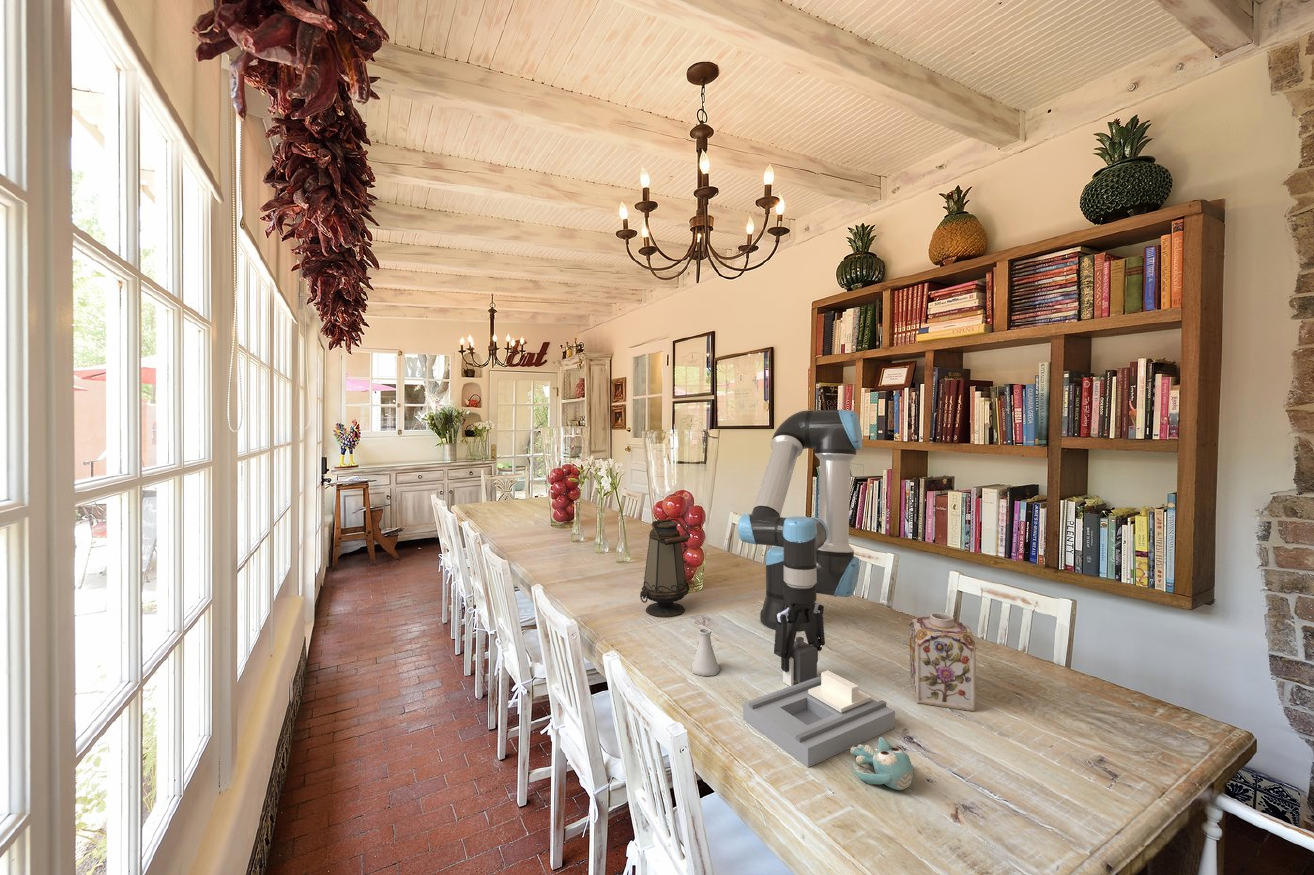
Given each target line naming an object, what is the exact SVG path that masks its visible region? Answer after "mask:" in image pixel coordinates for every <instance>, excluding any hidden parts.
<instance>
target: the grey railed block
mask: <svg viewBox="0 0 1314 875" xmlns="http://www.w3.org/2000/svg"><path fill="white" fill-rule="evenodd" d="M820 685H821V675H819V676H817V677H816V678H813V679H810V680H807V681H804V682H801V683H795V684H793V686H787V687H785V688H781V689H779V690H776V691H772V692H771V693H767V694H764V695H762V696H759V697H756V698H752V699H751V700H748V701H744V702H743V703H742V720H744V721H745V722H746V723H748V724H749V726H751V727H753V728H754V729H755V730H757V731H758V732H759V733H760V734H762V735H763V736H765V737H766V738H767V739H769V740H770V741H771V742H773V743H774V744H775V745H777V746H778V747H780V748H781V749H782V750H783V751H785V752H786V753H788V754H789V755H790V756H792V757H793V758H794V759H796V760H797V761H799V763H801V764H802V765H804V766H805V767H806V768H810V767H813V766H814V765H816V764H819V763H822V762H823V761H825V760H828V759H830V758H832V757H834V756H837V755H838V754H841V753H843V752H845V751H847V750H849V749H850V750H851V747H857V746H858V745H859V744H861V745H862V744H863V743H865V742H867V741H869V740H871V739H874V738H875V737H877V736H880V735H882V734H884V733H886V732H889V731H891V730H893V729H895V728H896V727H895V726H896V725H895V724H896V722H895V721H896V710H894V709H893V708H891V707H889V706H887V702H886V701H885V700H882V699H881V700H879V701H878V700H875V699H873V698H872V697H871V701H869V702H867V703H864V704H862V705H859V706H857V707H854V708H852V709H849V710H847V711H844V712H842V713H841V712H839V711H837V710H836V709H834V708H832V707H830V706H829V705H827V704H825V703H824V702H822V701H820V700H819V699H817V698H815V697H813V696H812V695H810V694H808V690H809V689H811V688H814V687H817V686H820Z"/></svg>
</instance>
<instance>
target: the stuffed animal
mask: <svg viewBox="0 0 1314 875" xmlns="http://www.w3.org/2000/svg"><path fill="white" fill-rule="evenodd" d="M849 752H850V755H852V756H854V757H856V758H855V761H854V760H853V761H852V763H851V767H852V768H851V769H852V770H853V771H854V772H853V773H855V775H856V776H857V777H858V778H859V780H861V781H863V782H864V783H866V784H868V785H883V784H884V785H885V786H886V787H888V788H889V789H892V790H897V791H902V790H905V789H907V788H909V787H910V786H911V784H912V781H913V777H914V767H913V764H912V762H911V759H910V756H909V755H908V754H907V753H906V752H905V751H903V750H901V749H900V748H898V747H894V746H893V745H892V744H890V743H889V741H888V740H886V738H884V737H882V736H880V737H879V738H878V746H877V748H875V749H874V748H873V747H872V745H871V746H870V745H869V744H862V743H861V744H858V745H856V746H854V747H851V748H850V751H849ZM863 765H871V766H873V768H874V769H873V770H874V772H873V771H871V770H870V769H867V768H866V767H864V766H863Z"/></svg>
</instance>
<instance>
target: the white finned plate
mask: <svg viewBox="0 0 1314 875" xmlns="http://www.w3.org/2000/svg"><path fill="white" fill-rule="evenodd" d="M820 676H821V685H820V686H817V687H814V688H811V689H809V690H808V694H810V695H812V696H813V697H815V698H817V699H819V700H820V701H822V702H824V703H825V704H827V705H829V706H830V707H832V708H834V709H836V710H837V711H839V712H841V713H842V712H844V711H847V710H849V709H852V708H854V707H857V706H859V705H862V704H864V703H867V702H869V701H871V698H872V696H871V695H869V694H868V693H866V692H864V691H861V690H859V685H858V684H856V683H854V682H852V681H850V680H848V679H846V678H844V677H842V676H840V675H838V674H837V673H834V672H832V671H830V670H828V669H827V670H825V671H822V672H821V674H820Z"/></svg>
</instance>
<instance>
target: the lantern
mask: <svg viewBox="0 0 1314 875" xmlns="http://www.w3.org/2000/svg"><path fill="white" fill-rule="evenodd" d="M678 524H679V525H680V527H681V528H682V529H683V531H684V532H685V533H686V535H682V536H681V533H680V531H679V529H677V526H679V525H678ZM651 527H652V529H651V530H649V534H648V536H649V540H648V546H647V554H646V555H647V556H646V562H645V571H644V578H643V579H644V580H643V585H642V587H641V591H640V595H639V597H640V600H641V602H642V603H643V604H646V603H647V602H648V600H650V601H652V602H654V603H651V604H649V605H648V606H647V607H646V608H645V612H646V614H647V615H649V616H652V617H655V618H663V619H664V618H665V619H666V618H675V617H679V616H681V615H683V614H685V612H686V608H685V607H684V605H682V604H681V603H677V602H678V601H681V600H682V599H684V598H685V596H687V595H688V593H689V591H690V586H689V583H688V582H687V577H686V571H685V562H684V556H683V549H682V543H685V542H686V543H688V542H689V539H691V534H690V533H689V531H688V530H687V529H686V527H685V526H684V525H683V523H682V521H681V520H680V519H678V518H677V517H676V518H675V517H674V518H670V517H669V518H666V519H658V520H655V521H652V523H651Z"/></svg>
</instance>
